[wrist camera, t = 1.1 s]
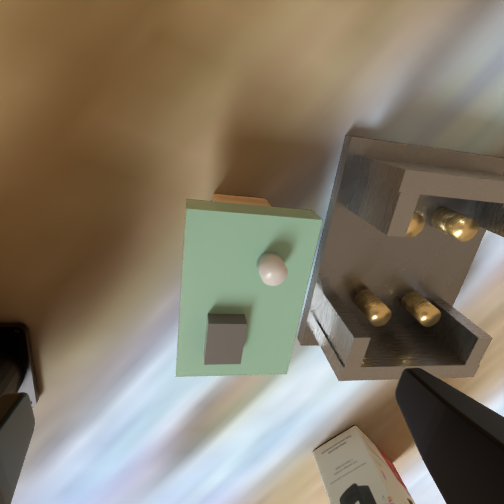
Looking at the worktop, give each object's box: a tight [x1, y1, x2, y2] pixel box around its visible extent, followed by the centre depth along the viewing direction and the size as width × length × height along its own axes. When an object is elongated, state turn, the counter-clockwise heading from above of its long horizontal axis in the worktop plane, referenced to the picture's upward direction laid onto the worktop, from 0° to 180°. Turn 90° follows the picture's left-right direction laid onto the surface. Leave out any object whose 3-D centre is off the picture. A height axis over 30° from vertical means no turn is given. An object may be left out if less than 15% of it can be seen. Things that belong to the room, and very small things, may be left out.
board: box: [176, 199, 323, 377], centre depth 16 cm, size 9×6×2 cm, turn 172°
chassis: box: [298, 135, 504, 381], centre depth 20 cm, size 14×11×5 cm
